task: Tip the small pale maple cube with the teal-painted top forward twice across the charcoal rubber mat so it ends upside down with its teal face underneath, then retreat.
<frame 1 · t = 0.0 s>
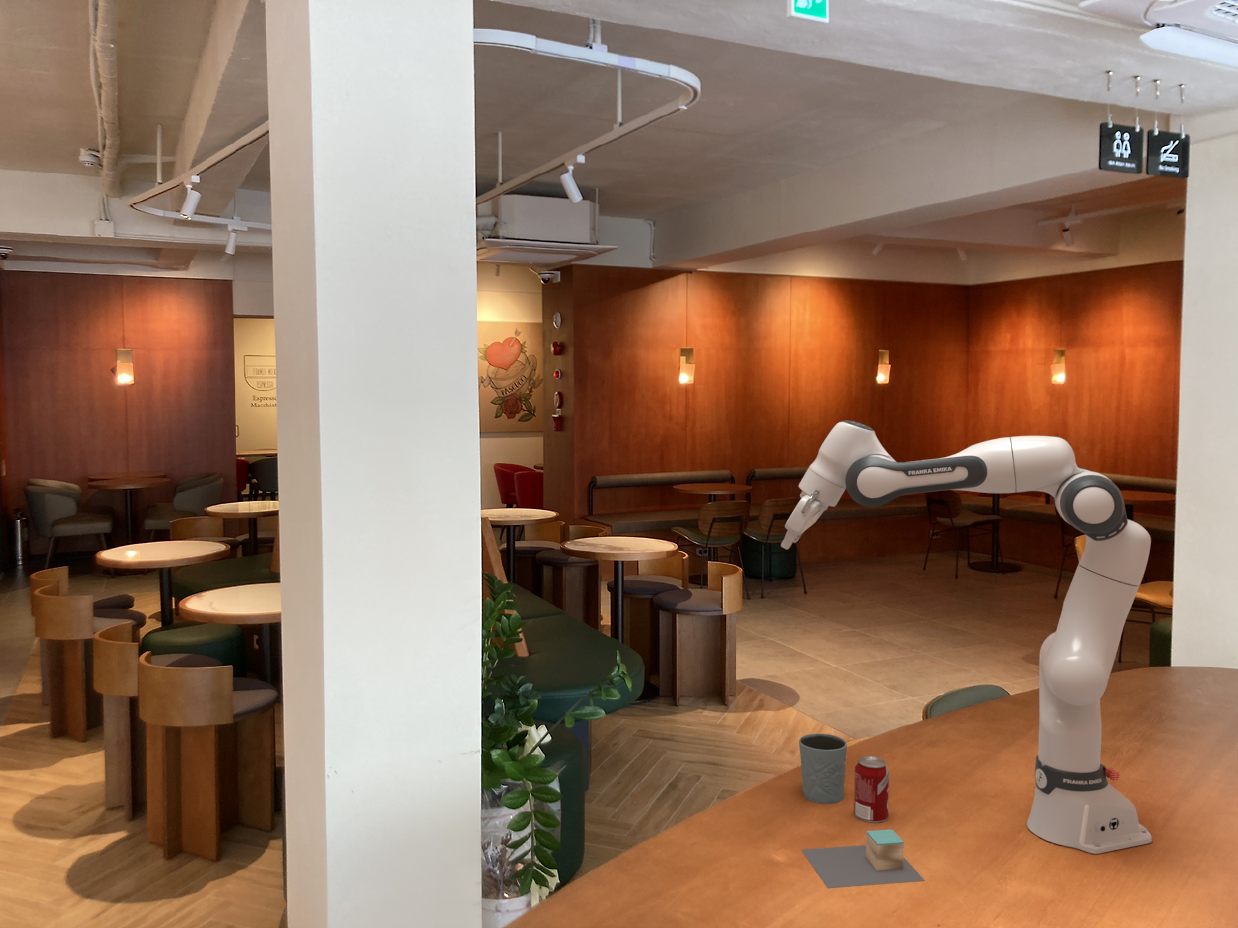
hand: (788, 544, 202), 54 cm above the table, tool tilted 30°, fingers open, 8 cm apart
soda can: (870, 819, 192), on the table
rubber mat: (860, 867, 172), on the table
maple cube: (884, 862, 172), point 1 cm above the table, touching rubber mat
grey blue cup: (821, 796, 203), on the table
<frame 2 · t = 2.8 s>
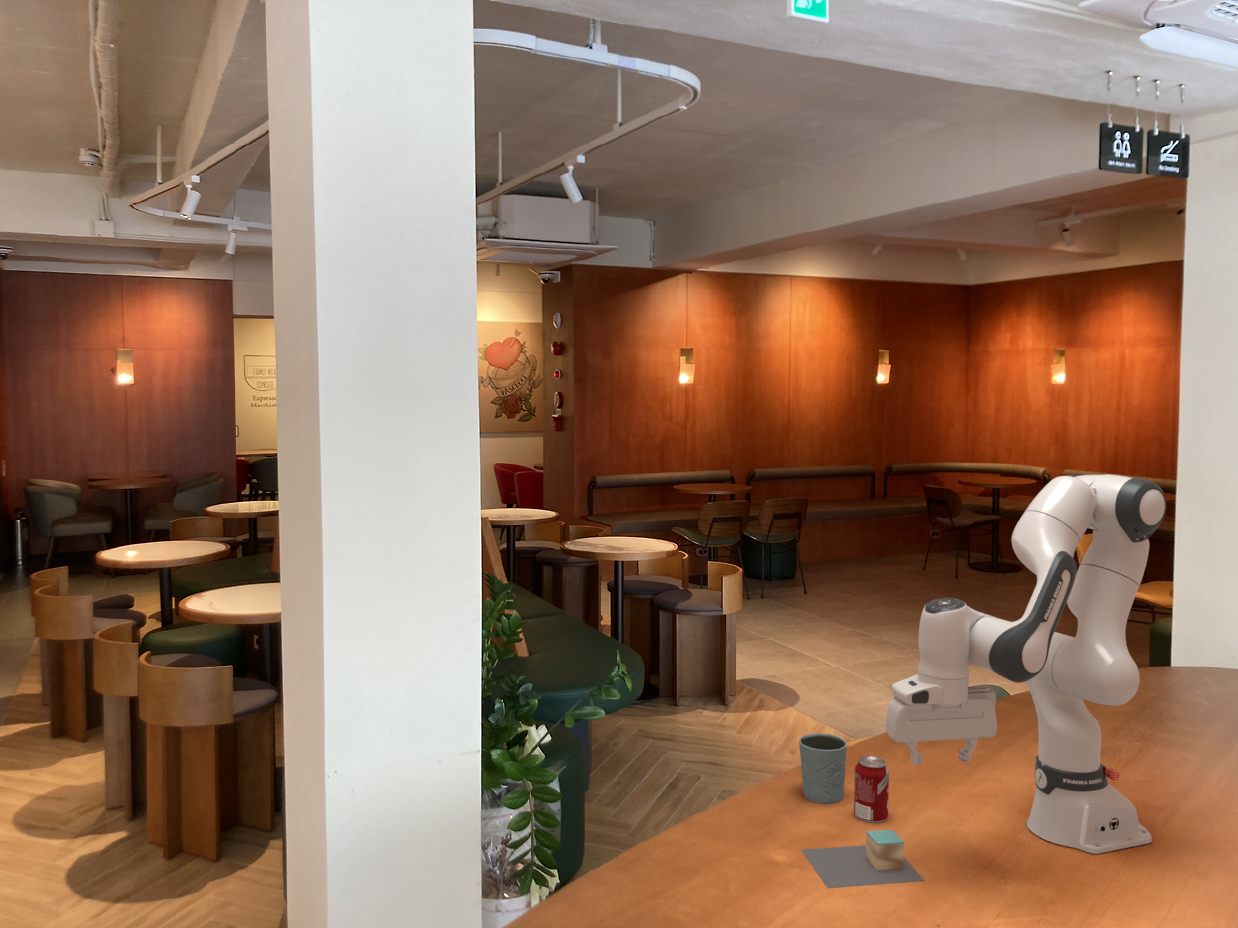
hand: (940, 761, 173), 19 cm above the table, tool pointing down, fingers open, 8 cm apart
nothing on the table moved.
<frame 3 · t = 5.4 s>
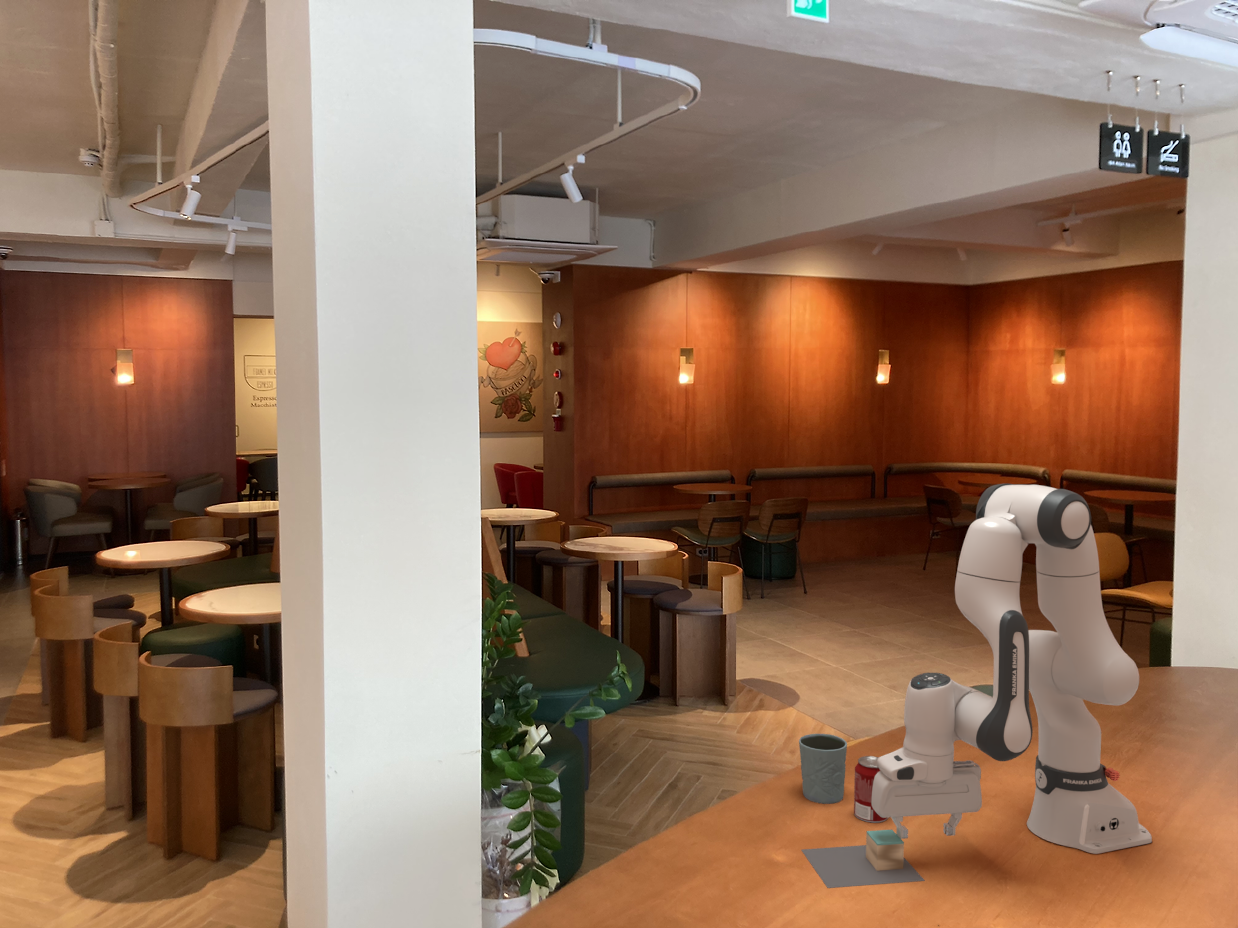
hand: (925, 835, 173), 5 cm above the table, tool pointing down, fingers open, 8 cm apart
maple cube: (884, 862, 172), point 1 cm above the table, touching gripper, rubber mat
everything else where it was.
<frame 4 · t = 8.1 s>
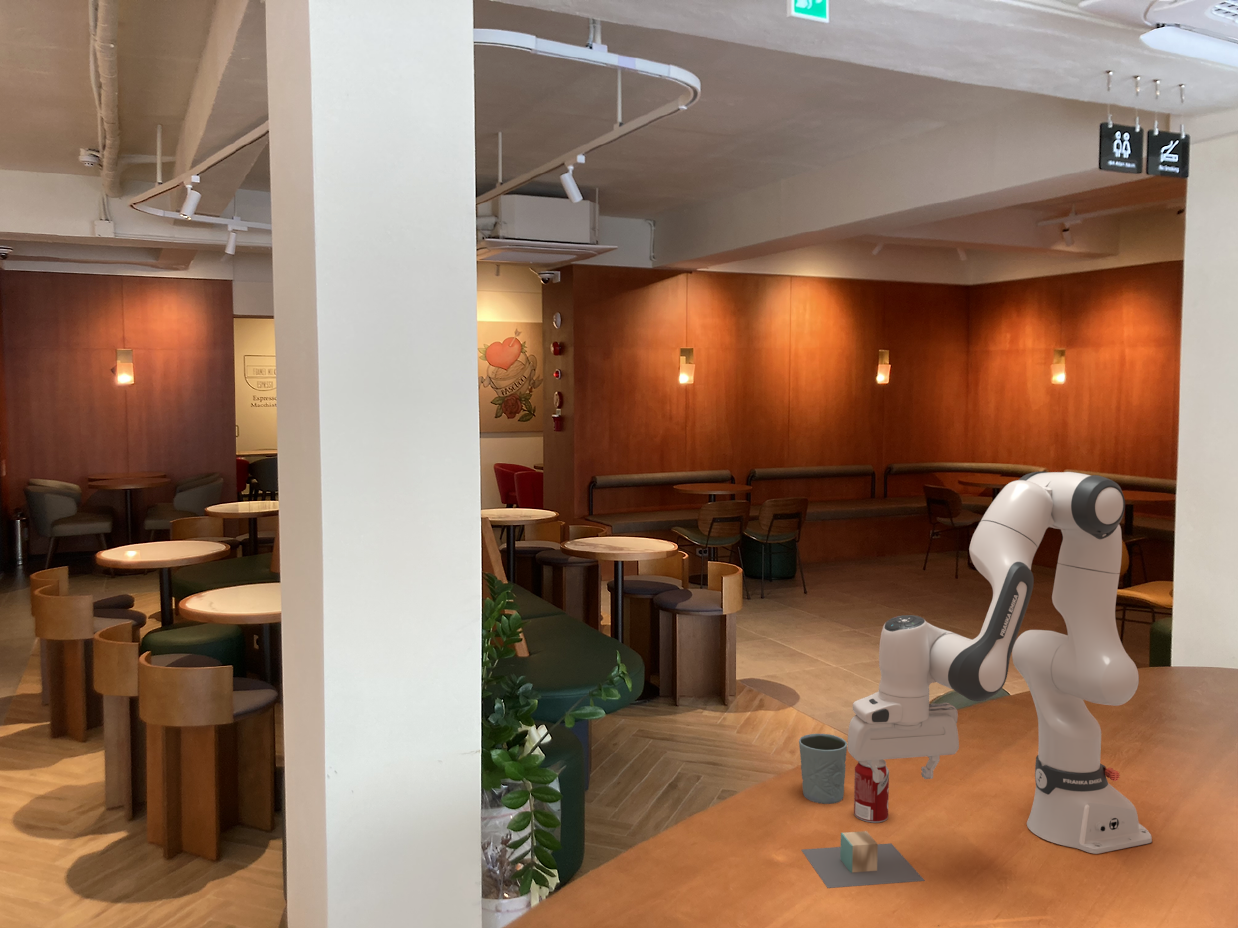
hand: (902, 779, 172), 16 cm above the table, tool pointing down, fingers open, 8 cm apart
maple cube: (871, 850, 172), point 3 cm above the table, tilted 90°, touching rubber mat
everything else where it was.
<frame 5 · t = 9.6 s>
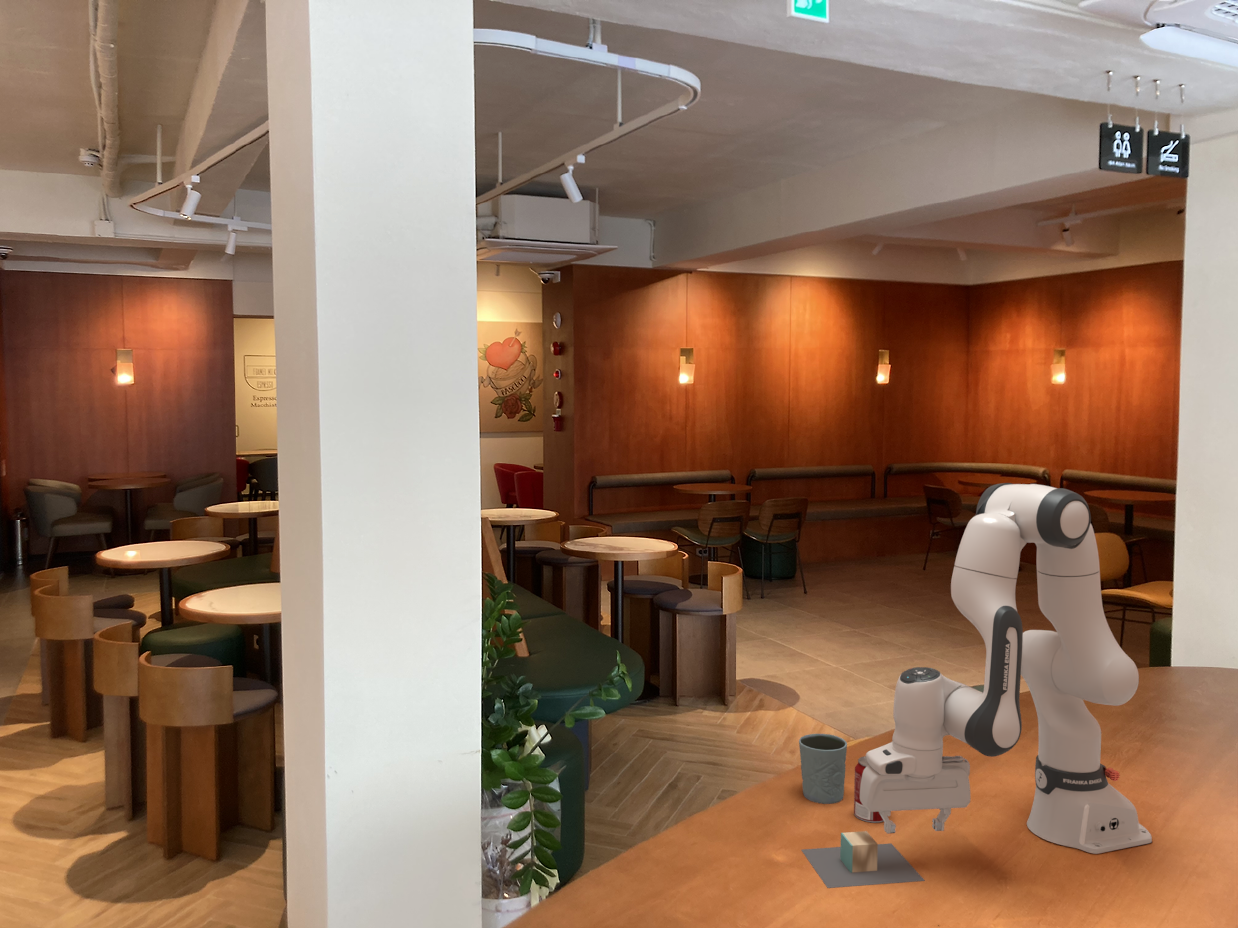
hand: (913, 830, 173), 6 cm above the table, tool pointing down, fingers open, 8 cm apart
nothing on the table moved.
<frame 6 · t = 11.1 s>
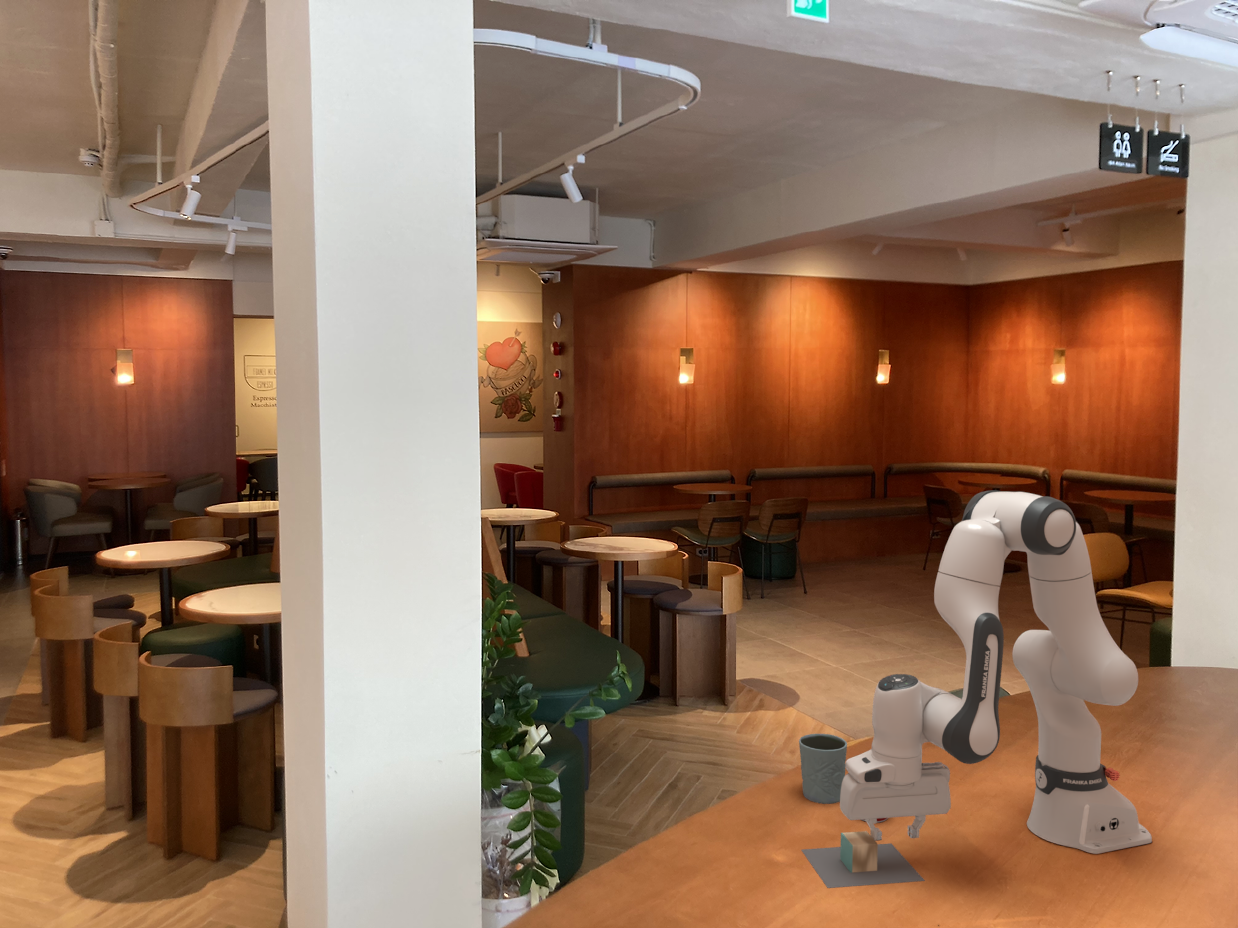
hand: (894, 837, 172), 5 cm above the table, tool pointing down, fingers open, 6 cm apart
maple cube: (871, 850, 172), point 3 cm above the table, tilted 90°, touching gripper, rubber mat
everything else where it was.
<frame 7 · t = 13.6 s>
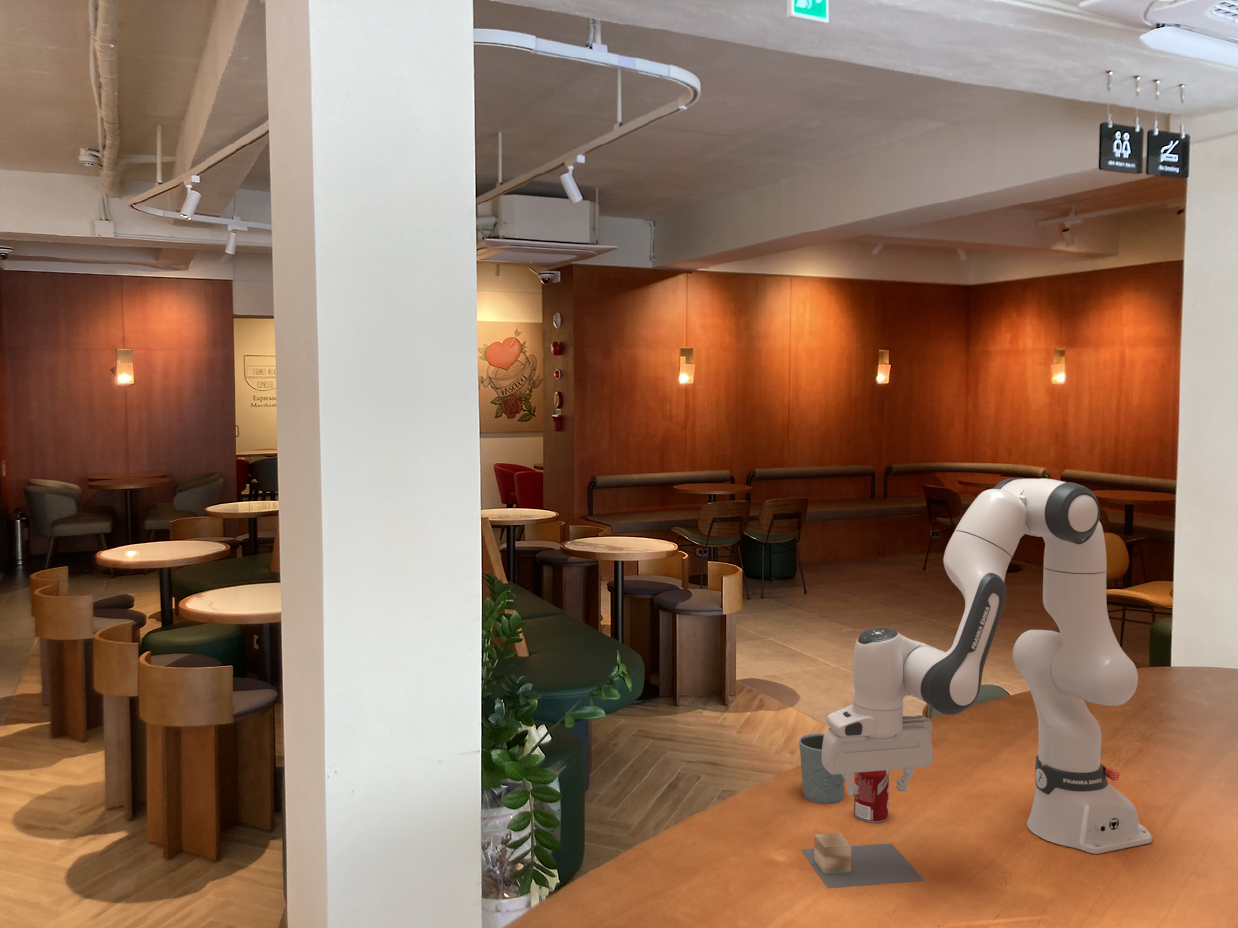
hand: (877, 792, 171), 14 cm above the table, tool pointing down, fingers open, 8 cm apart
maple cube: (832, 839, 171), point 6 cm above the table, tilted 180°, touching rubber mat
everything else where it was.
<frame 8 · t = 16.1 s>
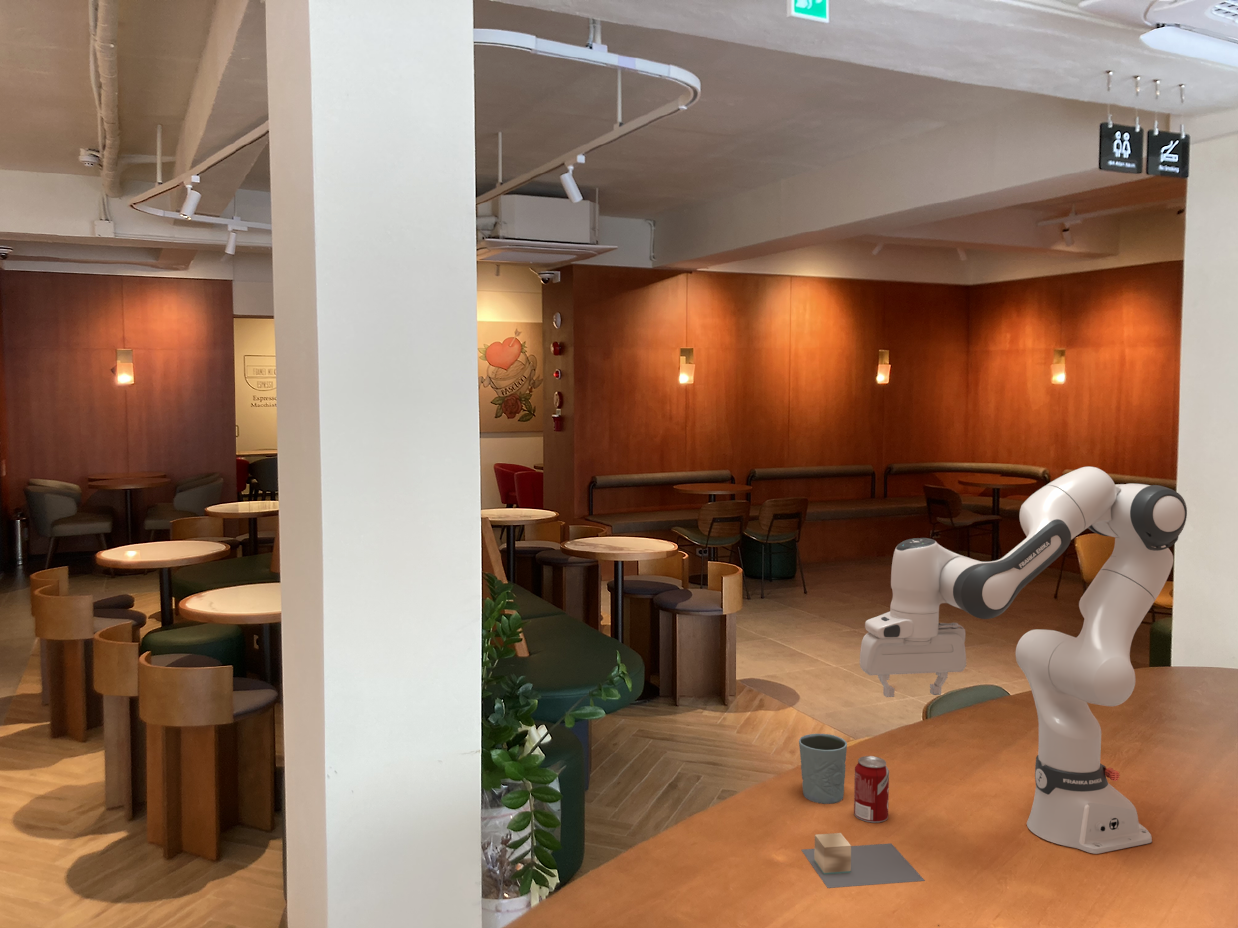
hand: (912, 695, 179), 29 cm above the table, tool pointing down, fingers open, 8 cm apart
nothing on the table moved.
at the end: maple cube tilted 180°; maple cube inside the target area (0.0 cm from its centre), point 5.6 cm above the table; the gripper is holding nothing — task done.
